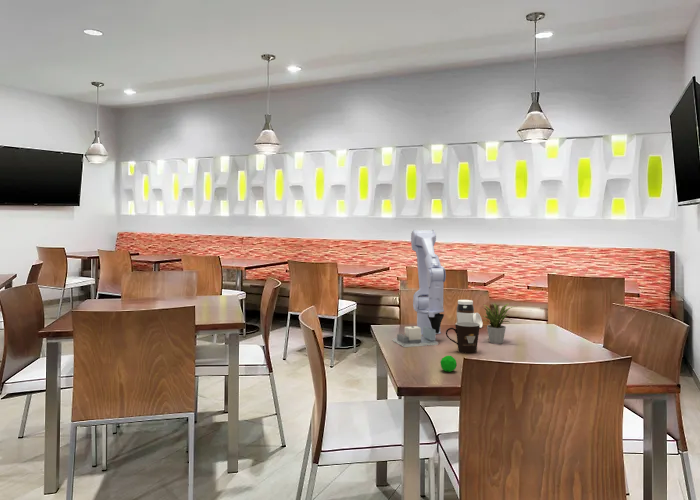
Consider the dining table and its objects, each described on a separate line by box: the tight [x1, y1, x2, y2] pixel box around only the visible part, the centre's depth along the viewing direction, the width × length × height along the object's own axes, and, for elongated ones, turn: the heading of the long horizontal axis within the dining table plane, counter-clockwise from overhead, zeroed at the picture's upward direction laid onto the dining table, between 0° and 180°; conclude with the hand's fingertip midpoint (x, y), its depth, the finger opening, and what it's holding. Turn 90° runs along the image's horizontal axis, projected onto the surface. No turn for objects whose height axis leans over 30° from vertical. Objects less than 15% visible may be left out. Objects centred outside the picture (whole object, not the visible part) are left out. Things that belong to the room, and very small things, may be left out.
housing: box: [404, 325, 422, 340], centre depth 202 cm, size 5×4×5 cm
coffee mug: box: [445, 322, 481, 355], centre depth 188 cm, size 12×9×10 cm
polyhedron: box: [439, 355, 457, 373], centre depth 162 cm, size 5×5×5 cm
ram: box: [422, 327, 437, 341], centre depth 204 cm, size 2×7×4 cm, turn 17°
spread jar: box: [456, 299, 483, 329], centre depth 234 cm, size 12×11×12 cm
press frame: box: [392, 333, 439, 348], centre depth 202 cm, size 14×12×3 cm
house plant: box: [482, 302, 518, 345], centre depth 202 cm, size 14×14×16 cm
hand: (435, 332), depth 204 cm, fingers closed
